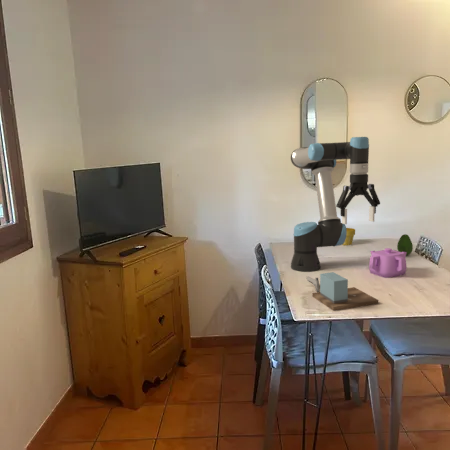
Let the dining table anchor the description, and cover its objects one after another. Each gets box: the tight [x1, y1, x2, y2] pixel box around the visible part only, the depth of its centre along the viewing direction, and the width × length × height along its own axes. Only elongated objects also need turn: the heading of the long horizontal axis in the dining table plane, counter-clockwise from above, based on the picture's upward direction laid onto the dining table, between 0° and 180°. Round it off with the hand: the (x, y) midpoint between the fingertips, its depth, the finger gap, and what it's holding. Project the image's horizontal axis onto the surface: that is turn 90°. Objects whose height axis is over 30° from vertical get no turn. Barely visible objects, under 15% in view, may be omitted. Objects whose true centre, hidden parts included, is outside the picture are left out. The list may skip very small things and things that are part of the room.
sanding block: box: [319, 271, 349, 304], centre depth 173 cm, size 11×6×9 cm, turn 16°
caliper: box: [305, 276, 320, 293], centre depth 195 cm, size 20×1×6 cm, turn 3°
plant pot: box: [341, 227, 356, 246], centre depth 270 cm, size 10×10×10 cm
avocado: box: [396, 233, 414, 257], centre depth 238 cm, size 8×8×12 cm
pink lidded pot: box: [368, 247, 408, 279], centre depth 207 cm, size 17×17×12 cm
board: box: [311, 286, 379, 311], centre depth 175 cm, size 17×20×2 cm
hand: (358, 222), depth 187 cm, fingers open, 13 cm apart
